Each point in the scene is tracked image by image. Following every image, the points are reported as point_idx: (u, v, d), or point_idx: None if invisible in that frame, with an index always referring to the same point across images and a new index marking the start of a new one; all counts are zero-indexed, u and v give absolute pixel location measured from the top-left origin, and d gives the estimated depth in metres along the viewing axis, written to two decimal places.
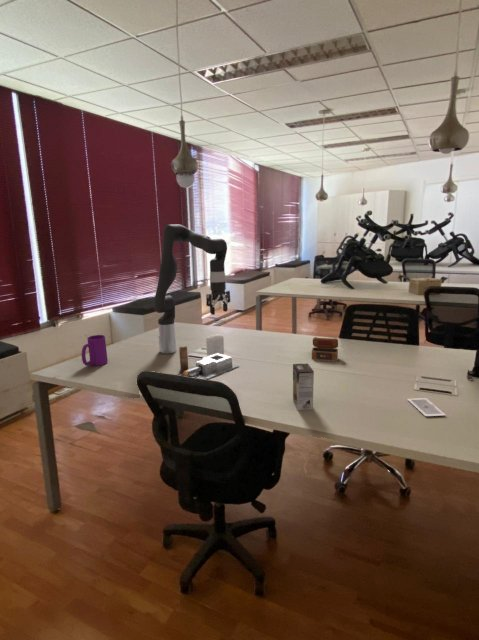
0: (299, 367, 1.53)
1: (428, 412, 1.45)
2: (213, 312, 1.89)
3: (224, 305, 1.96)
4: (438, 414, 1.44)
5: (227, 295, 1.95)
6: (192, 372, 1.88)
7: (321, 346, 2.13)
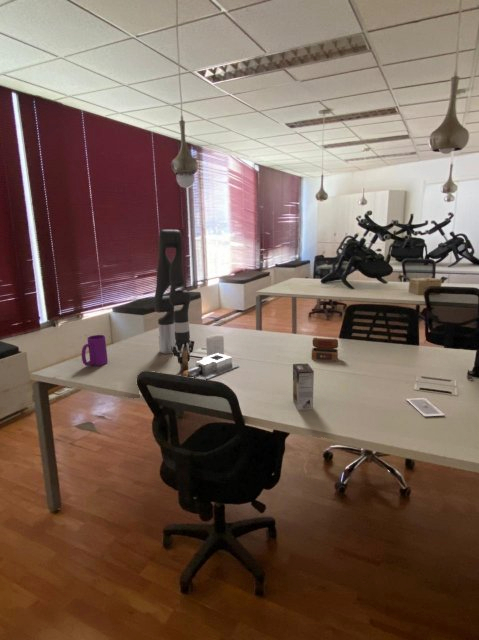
0: (299, 367, 1.53)
1: (427, 412, 1.45)
2: (180, 361, 1.97)
3: None
4: (437, 414, 1.44)
5: (191, 345, 2.01)
6: (192, 372, 1.88)
7: (321, 346, 2.12)
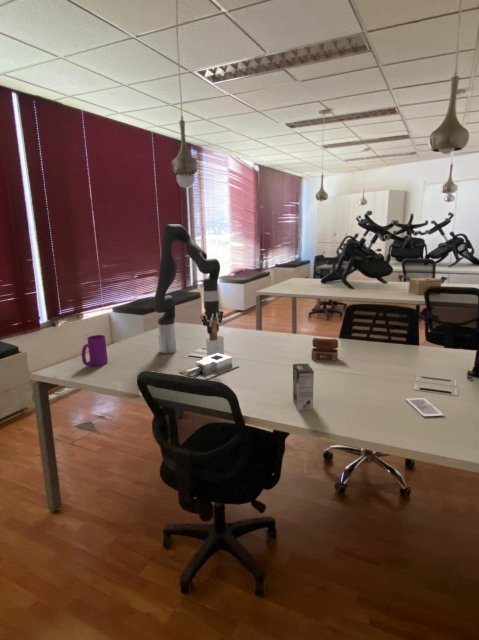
0: (299, 367, 1.53)
1: (426, 412, 1.45)
2: (210, 331, 1.94)
3: None
4: (436, 414, 1.44)
5: (220, 315, 1.98)
6: (192, 372, 1.88)
7: (321, 347, 2.12)
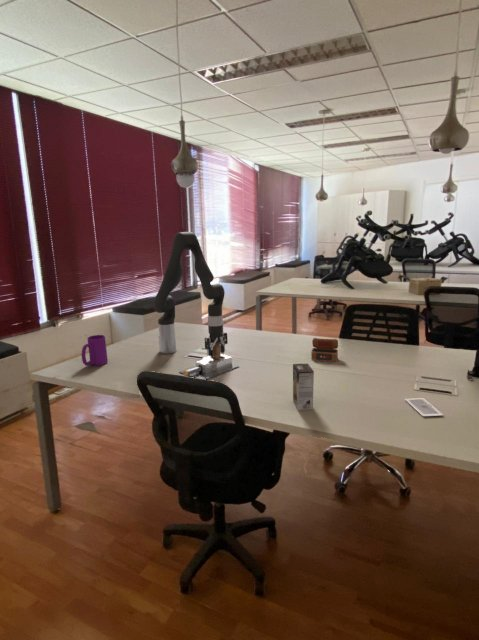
0: (299, 367, 1.53)
1: (426, 412, 1.45)
2: (211, 354, 1.97)
3: (221, 347, 2.02)
4: (436, 414, 1.44)
5: (224, 337, 2.02)
6: (192, 372, 1.88)
7: (321, 347, 2.12)
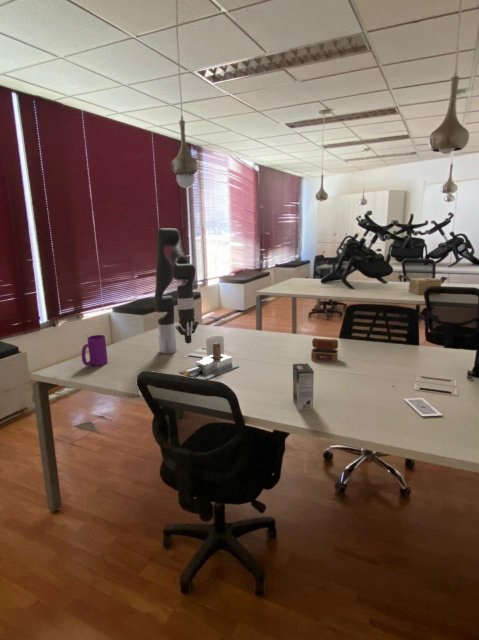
0: (299, 367, 1.53)
1: (425, 412, 1.45)
2: (188, 341, 1.83)
3: None
4: (435, 414, 1.44)
5: (194, 325, 1.85)
6: (192, 372, 1.88)
7: (321, 347, 2.11)
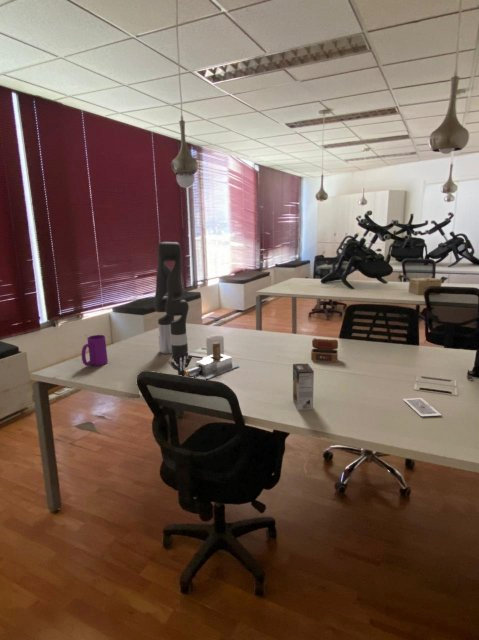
0: (299, 367, 1.53)
1: (424, 412, 1.45)
2: None
3: None
4: (434, 414, 1.44)
5: (188, 359, 1.86)
6: (192, 372, 1.88)
7: (321, 347, 2.11)
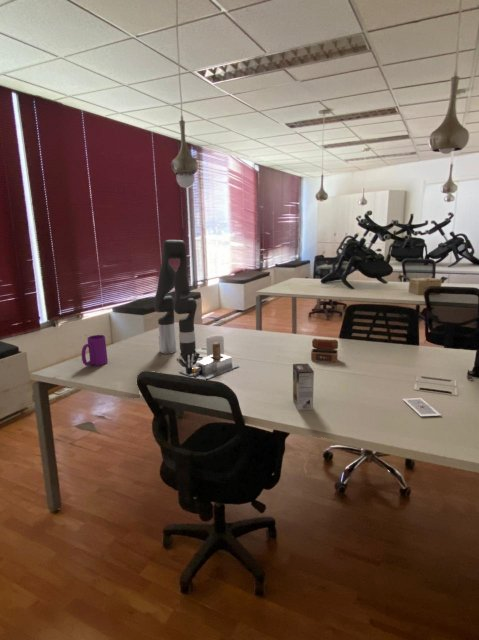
0: (299, 367, 1.53)
1: (424, 412, 1.45)
2: (189, 372, 1.87)
3: None
4: (433, 414, 1.44)
5: (195, 357, 1.89)
6: (200, 369, 1.92)
7: (321, 347, 2.11)
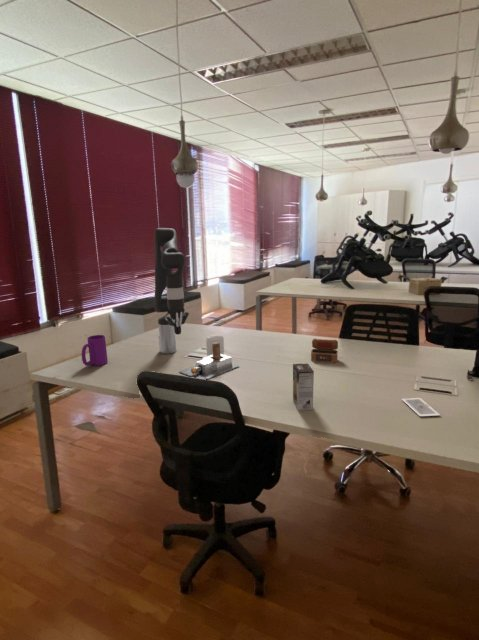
0: (299, 367, 1.53)
1: (423, 412, 1.45)
2: (177, 332, 1.78)
3: None
4: (432, 414, 1.44)
5: (184, 316, 1.80)
6: (200, 369, 1.92)
7: (321, 348, 2.10)
